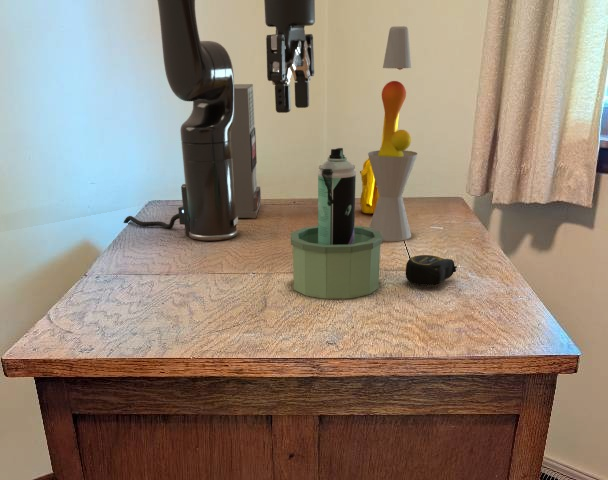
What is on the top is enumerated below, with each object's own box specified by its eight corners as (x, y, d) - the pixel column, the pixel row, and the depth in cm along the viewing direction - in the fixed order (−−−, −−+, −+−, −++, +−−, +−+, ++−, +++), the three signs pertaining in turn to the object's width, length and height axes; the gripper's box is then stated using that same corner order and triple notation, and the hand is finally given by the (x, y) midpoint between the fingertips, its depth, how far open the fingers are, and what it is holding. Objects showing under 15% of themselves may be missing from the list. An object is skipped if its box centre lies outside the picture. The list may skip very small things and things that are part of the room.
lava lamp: (359, 239, 137) (365, 26, 119) (373, 228, 144) (381, 26, 127) (405, 243, 134) (418, 26, 117) (417, 232, 142) (431, 26, 124)
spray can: (350, 291, 110) (353, 151, 100) (315, 289, 111) (314, 150, 100) (355, 281, 114) (358, 145, 104) (321, 279, 115) (321, 145, 105)
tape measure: (437, 292, 109) (439, 268, 107) (397, 285, 112) (398, 261, 110) (455, 281, 114) (457, 257, 112) (416, 274, 117) (417, 251, 115)
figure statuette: (359, 204, 166) (362, 98, 154) (393, 204, 165) (399, 97, 154) (357, 221, 150) (360, 105, 139) (395, 221, 150) (401, 105, 139)
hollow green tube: (275, 291, 110) (273, 240, 106) (317, 268, 121) (317, 221, 117) (356, 304, 104) (358, 251, 100) (393, 279, 115) (395, 230, 111)
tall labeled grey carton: (257, 219, 153) (251, 88, 141) (228, 219, 154) (220, 88, 141) (261, 205, 165) (256, 84, 153) (235, 205, 165) (228, 84, 153)
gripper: (283, -8, 113) (287, 106, 121) (246, -13, 101) (253, 114, 110) (328, -10, 111) (329, 106, 119) (295, -16, 99) (299, 114, 107)
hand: (293, 110), depth 114 cm, fingers open, 8 cm apart
